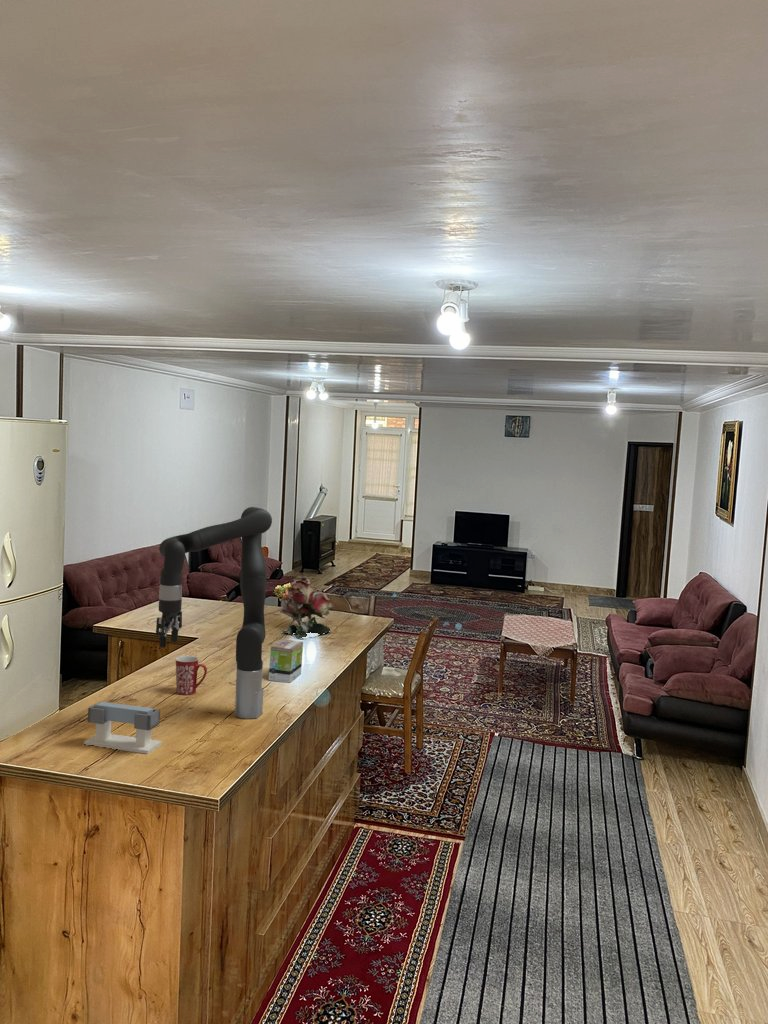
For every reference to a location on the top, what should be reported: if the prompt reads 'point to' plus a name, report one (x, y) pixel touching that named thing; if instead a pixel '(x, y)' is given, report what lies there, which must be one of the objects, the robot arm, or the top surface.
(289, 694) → the top surface
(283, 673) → the tea box
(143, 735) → the stand
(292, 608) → the rose bouquet
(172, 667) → the top surface
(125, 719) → the rail
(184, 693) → the mug
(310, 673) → the top surface
